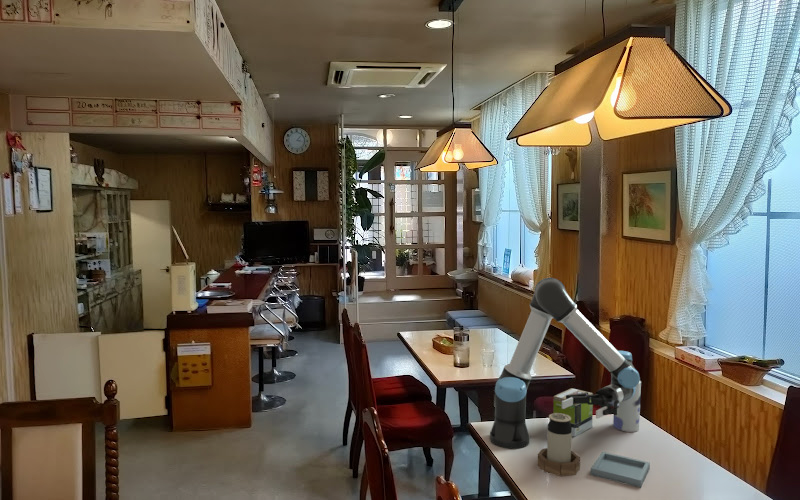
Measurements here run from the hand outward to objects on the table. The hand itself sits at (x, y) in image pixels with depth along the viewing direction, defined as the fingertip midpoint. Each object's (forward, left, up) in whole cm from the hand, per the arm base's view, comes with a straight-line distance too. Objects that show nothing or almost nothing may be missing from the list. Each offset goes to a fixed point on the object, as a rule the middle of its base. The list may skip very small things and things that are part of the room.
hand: (579, 409), depth 207 cm
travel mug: (-4, -10, -19) cm, 21 cm away
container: (+8, +42, -19) cm, 47 cm away
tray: (+15, -2, -18) cm, 24 cm away
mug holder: (-4, -10, -18) cm, 21 cm away
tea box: (-10, +28, -19) cm, 35 cm away
